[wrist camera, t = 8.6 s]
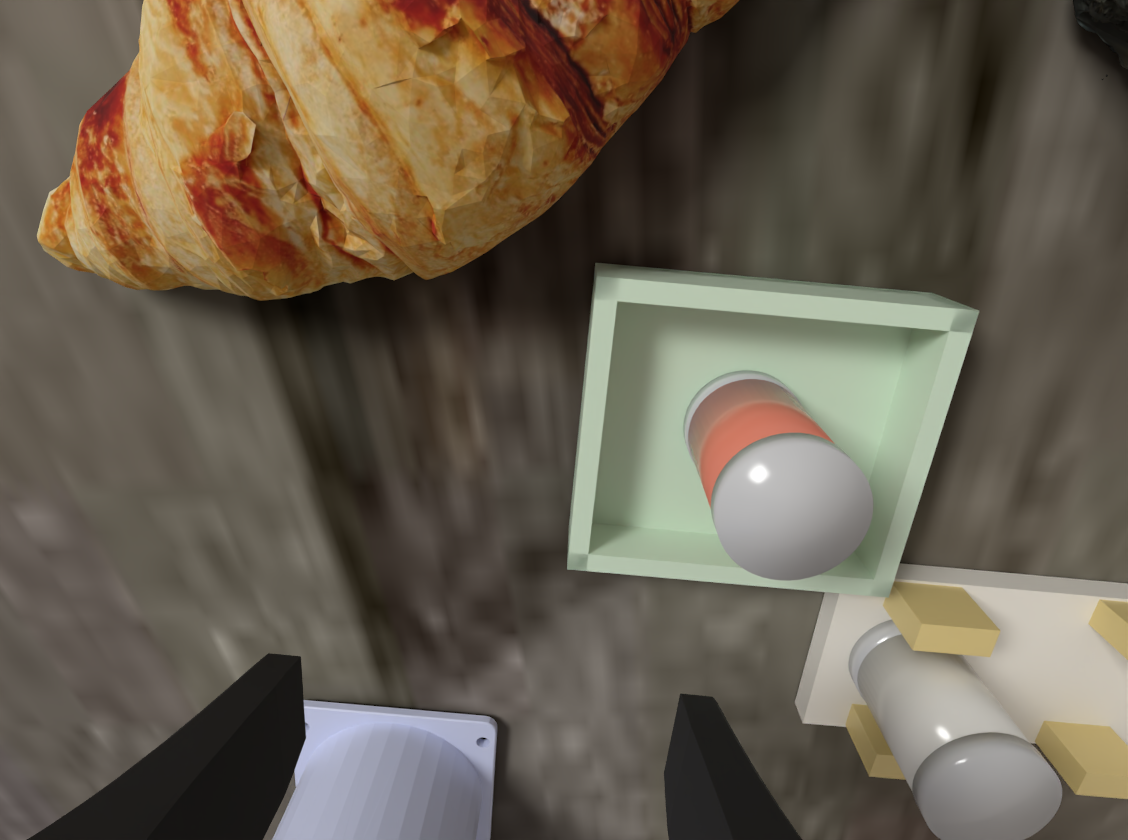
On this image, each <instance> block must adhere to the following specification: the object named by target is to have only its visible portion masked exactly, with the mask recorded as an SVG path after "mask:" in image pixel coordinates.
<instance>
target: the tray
mask: <svg viewBox="0 0 1128 840" xmlns="http://www.w3.org/2000/svg"><path fill="white" fill-rule="evenodd" d="M978 314H979V310H976V309H973V308H971V307H968V306H965V305H963V304H960V303H958V302H955V301H952V300H950V299H947V298H944V297H942V296H939V295H937V294H934V293H927V292H916V291H905V290H894V289H883V288H872V287H861V286H850V285H839V284H828V283H816V282H805V281H794V280H783V279H772V278H761V277H750V276H739V275H728V274H717V273H706V272H695V271H684V270H673V269H662V268H651V267H639V266H628V265H617V264H606V263H595V272H594V282H593V292H592V302H591V311H590V321H589V331H588V341H587V351H586V361H585V371H584V381H583V391H582V401H581V411H580V421H579V431H578V441H577V451H576V461H575V471H574V481H573V491H572V501H571V511H570V521H569V535H568V559H567V569H570V570H582V571H593V572H604V573H615V574H627V575H638V576H649V577H661V578H672V579H683V580H694V581H706V582H717V583H728V584H740V585H751V586H762V587H774V588H785V589H796V590H807V591H819V592H830V593H841V594H853V595H864V596H875V597H887V598H889V595H890V592H891V589H892V585H893V582H894V579H895V576H896V573H897V570H898V566H899V563H900V560H901V557H902V554H903V551H904V548H905V544H906V541H907V538H908V535H909V532H910V529H911V525H912V522H913V519H914V516H915V513H916V510H917V506H918V503H919V500H920V497H921V494H922V491H923V488H924V484H925V481H926V478H927V475H928V472H929V469H930V465H931V462H932V459H933V456H934V453H935V450H936V446H937V443H938V440H939V437H940V434H941V431H942V427H943V424H944V421H945V418H946V415H947V412H948V409H949V405H950V402H951V399H952V396H953V393H954V390H955V386H956V383H957V380H958V377H959V374H960V371H961V367H962V364H963V361H964V358H965V355H966V352H967V349H968V345H969V342H970V339H971V336H972V333H973V330H974V326H975V323H976V320H977V317H978ZM741 370H752V371H759V372H763V373H766V374H769V375H771V376H773V377H775V378H777V379H779V380H780V381H781V382H782V383H784V384H785V385H786V386H787V387H788V388H789V389H790V390H791V392H792V393H793V394H794V395H795V396H796V397H797V399H798V400H799V402H800V403H801V405H802V407H803V408H804V409H805V410H806V411H807V412H808V414H809V415H810V416H811V417H812V418H813V419H814V420H815V422H816V423H817V424H818V425H819V426H820V427H821V428H822V430H823V431H824V432H825V433H826V434H827V435H828V436H829V438H830V439H831V440H832V441H833V442H834V443H835V444H836V445H837V446H838V447H840V448H841V449H842V450H843V451H844V452H845V453H846V454H847V455H848V456H849V457H850V458H851V459H852V460H853V462H854V463H855V464H856V465H857V466H858V467H859V468H860V469H861V471H862V472H863V474H864V475H865V477H866V478H867V481H868V483H869V485H870V488H871V491H872V496H873V515H872V520H871V523H870V526H869V529H868V531H867V533H866V535H865V537H864V539H863V540H862V542H861V543H860V545H859V546H858V547H857V548H856V550H855V551H854V552H853V553H852V554H851V555H850V556H849V557H848V558H847V559H845V560H844V561H843V562H841V563H840V564H839V565H837V566H836V567H834V568H832V569H830V570H829V571H826V572H824V573H822V574H819V575H816V576H813V577H810V578H805V579H800V580H791V581H785V580H773V579H768V578H763V577H760V576H757V575H755V574H752V573H750V572H748V571H747V570H745V569H743V568H742V567H740V566H739V565H738V564H736V563H735V562H734V561H733V560H732V559H731V558H730V556H729V555H728V554H727V553H726V551H725V550H724V548H723V546H722V544H721V542H720V539H719V537H718V534H717V531H716V528H715V525H714V523H713V519H712V514H711V508H710V505H709V503H708V500H707V497H706V494H705V491H704V489H703V486H702V483H701V480H700V477H699V475H698V472H697V469H696V466H695V464H694V462H693V461H692V459H691V457H690V454H689V452H688V449H687V446H686V443H685V439H684V433H683V424H684V418H685V414H686V411H687V408H688V406H689V404H690V402H691V400H692V399H693V397H694V396H695V395H696V394H697V392H698V391H699V390H700V389H701V388H702V387H703V386H705V385H706V384H707V383H709V382H710V381H711V380H713V379H715V378H717V377H719V376H721V375H724V374H726V373H730V372H734V371H741Z"/></svg>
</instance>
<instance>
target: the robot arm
mask: <svg viewBox="0 0 1128 840" xmlns="http://www.w3.org/2000/svg"><path fill="white" fill-rule="evenodd" d="M305 722H306V723H307V724H306V723H305ZM482 737H484V738H487V739H481V738H482ZM496 743H497V723H496V721H495V720H494V719H493V718H491V717H488V716H482V715H470V714H459V713H448V712H436V711H425V710H413V709H402V708H391V707H379V706H368V705H356V704H345V703H333V702H322V701H311V700H304V699H303V684H302V669H301V657H300V656H290V655H279V654H267V655H266V656H265V657H263V658H262V659H261V660H260V661H259V662H257V663H256V664H255V665H254V666H253V667H252V668H250V669H249V670H248V671H247V672H246V673H245V674H244V675H242V676H241V677H240V678H239V679H238V680H237V681H236V682H234V683H233V684H232V685H231V686H230V687H229V688H228V689H226V690H225V691H224V692H223V693H222V694H221V695H220V696H218V697H217V698H216V699H215V700H214V701H213V702H211V703H210V704H209V705H208V706H207V707H206V708H204V709H203V710H202V711H201V712H200V713H198V714H197V715H196V716H195V717H194V718H192V719H191V720H190V721H189V722H188V723H186V724H185V725H184V726H183V727H182V728H180V729H179V730H178V731H177V732H176V733H174V734H173V735H172V736H171V737H170V738H168V739H167V740H166V741H165V742H163V743H162V744H161V745H160V746H158V747H157V748H156V749H155V750H153V751H152V752H151V753H149V754H148V755H147V756H145V757H144V758H143V759H142V760H140V761H139V762H138V763H136V764H135V765H134V766H132V767H131V768H130V769H129V770H127V771H126V772H125V773H123V774H122V775H121V776H119V777H118V778H117V779H115V780H114V781H113V782H111V783H110V784H109V785H107V786H106V787H104V788H103V789H102V790H100V791H99V792H98V793H96V794H95V795H93V796H92V797H91V798H89V799H88V800H86V801H85V802H83V803H82V804H81V805H79V806H78V807H76V808H75V809H73V810H72V811H70V812H69V813H67V814H66V815H64V816H63V817H61V818H60V819H58V820H57V821H55V822H54V823H52V824H51V825H49V826H48V827H46V828H45V829H43V830H42V831H40V832H39V833H37V834H35V835H34V836H32V837H30V838H29V839H27V840H263V838H264V836H265V834H266V832H267V830H268V828H269V826H270V824H271V822H272V820H273V818H274V816H275V814H276V812H277V810H278V808H279V806H280V804H281V802H282V800H283V798H284V795H285V793H286V791H287V788H288V785H289V783H290V780H291V778H292V775H293V773H294V771H295V782H296V789H295V791H294V794H293V796H292V798H291V800H290V802H289V804H288V807H287V809H286V811H285V813H284V815H283V818H282V820H281V822H280V824H279V826H278V828H277V831H276V833H275V835H274V837H273V839H272V840H490V838H491V822H492V806H493V790H494V775H495V759H496ZM664 781H665V798H666V813H667V827H668V836H669V840H802V839H801V837H800V836H799V835H798V833H797V832H796V830H795V829H794V828H793V826H792V825H791V823H790V822H789V820H788V819H787V817H786V816H785V814H784V813H783V812H782V810H781V809H780V807H779V806H778V804H777V802H776V801H775V799H774V798H773V796H772V795H771V793H770V792H769V790H768V788H767V787H766V785H765V784H764V782H763V781H762V779H761V778H760V776H759V774H758V773H757V771H756V770H755V768H754V766H753V765H752V763H751V761H750V760H749V758H748V756H747V755H746V753H745V751H744V750H743V748H742V746H741V744H740V743H739V741H738V739H737V738H736V736H735V734H734V732H733V731H732V729H731V727H730V725H729V723H728V722H727V720H726V718H725V716H724V714H723V712H722V711H721V709H720V707H719V705H718V703H717V702H716V700H715V699H714V698H713V697H709V696H699V695H689V694H680V698H679V703H678V708H677V713H676V717H675V722H674V727H673V732H672V737H671V742H670V746H669V751H668V756H667V761H666V766H665V771H664Z"/></svg>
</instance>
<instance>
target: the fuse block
mask: <svg viewBox="0 0 1128 840" xmlns="http://www.w3.org/2000/svg"><path fill="white" fill-rule="evenodd" d="M891 619H892V620H893V622H894V623H895V625H896V626H897V628H898V629H899V631H900V632H901V634H902V635H903V637H904V638H905V640H906V641H907V643H908V644H909V646H910V647H911V649H912V650H914V651H925V652H937V653H948V654H960V655H963V656H964V658H965V659H966V660H967V661H968V663H969V664H970V665H971V667H972V668H973V669H974V671H975V672H976V673H977V675H978V676H979V677H980V678H981V680H982V681H983V682H984V684H985V685H986V686H987V688H988V689H989V690H990V691H991V693H992V694H993V695H994V697H995V698H996V699H997V701H998V702H999V703H1000V705H1001V706H1002V707H1003V708H1004V710H1005V711H1006V712H1007V714H1008V715H1009V716H1010V718H1011V719H1012V720H1013V722H1014V723H1015V724H1016V725H1017V727H1018V728H1019V729H1020V731H1021V732H1022V733H1023V735H1024V736H1025V737H1026V739H1027V740H1028V741H1029V742H1030V743H1034V744H1037V745H1038V746H1039V748H1040V749H1041V750H1042V752H1043V753H1044V754H1045V756H1046V757H1047V758H1048V759H1049V761H1050V762H1051V763H1052V765H1053V766H1054V767H1055V768H1056V770H1057V771H1058V772H1059V774H1060V775H1061V776H1062V777H1063V779H1064V780H1065V781H1066V783H1067V784H1068V785H1069V786H1070V788H1071V789H1072V790H1073V792H1074V793H1075V794H1076V795H1087V796H1098V797H1109V798H1121V799H1128V584H1127V583H1116V582H1105V581H1093V580H1082V579H1071V578H1060V577H1048V576H1037V575H1026V574H1015V573H1003V572H992V571H981V570H969V569H958V568H947V567H936V566H924V565H913V564H902V563H899V566H898V570H897V573H896V576H895V579H894V582H893V585H892V589H891V592H890V595H889V598H887V597H875V596H864V595H853V594H841V593H830V592H825V594H824V597H823V601H822V605H821V608H820V612H819V616H818V619H817V623H816V627H815V630H814V634H813V638H812V641H811V645H810V649H809V652H808V656H807V659H806V663H805V667H804V670H803V674H802V678H801V681H800V685H799V689H798V692H797V696H796V700H795V705H796V707H797V710H798V712H799V715H800V717H801V720H802V723H806V724H818V725H829V726H841V727H847V730H848V732H849V734H850V736H851V738H852V740H853V743H854V745H855V747H856V749H857V751H858V753H859V755H860V758H861V760H862V762H863V764H864V766H865V768H866V771H867V773H868V775H869V777H881V778H892V779H903V780H906V779H905V777H904V775H903V773H902V771H901V769H900V767H899V765H898V763H897V761H896V760H895V758H894V756H893V754H892V752H891V750H890V748H889V746H888V744H887V742H886V740H885V738H884V736H883V735H882V733H881V731H880V729H879V727H878V725H877V723H876V721H875V719H874V717H873V715H872V713H871V711H870V710H869V708H868V706H867V704H866V702H865V700H864V699H863V698H862V697H861V695H860V693H859V692H858V690H857V688H856V686H855V684H854V682H853V680H852V678H851V676H850V673H849V667H848V662H849V656H850V653H851V650H852V648H853V647H854V645H855V643H856V642H857V641H858V639H859V638H860V637H861V636H862V635H863V634H864V633H866V632H867V631H868V630H870V629H871V628H873V627H874V626H876V625H878V624H880V623H883V622H885V621H888V620H891Z"/></svg>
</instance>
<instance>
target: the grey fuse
mask: <svg viewBox="0 0 1128 840" xmlns="http://www.w3.org/2000/svg"><path fill="white" fill-rule="evenodd" d="M848 667H849V673H850V676H851V678H852V680H853V682H854V684H855V686H856V688H857V690H858V692H859V693H860V695H861V697H862V698H863V699H864V700H865V702H866V704H867V706H868V708H869V710H870V711H871V713H872V715H873V717H874V719H875V721H876V723H877V725H878V727H879V729H880V731H881V733H882V735H883V736H884V738H885V740H886V742H887V744H888V746H889V748H890V750H891V752H892V754H893V756H894V758H895V760H896V761H897V763H898V765H899V767H900V769H901V771H902V773H903V775H904V777H905V779H906V781H907V783H908V785H909V786H910V788H911V790H912V792H913V797H914V800H915V802H916V804H917V806H918V808H919V810H920V812H921V813H922V815H923V817H924V819H925V821H926V823H927V825H928V827H929V828H930V830H931V831H932V832H933V833H934V834H935V835H936V836H937V837H938V838H940V839H941V840H1024V839H1026V838H1028V837H1030V836H1032V835H1034V834H1035V833H1037V832H1038V831H1039V830H1041V829H1042V828H1043V827H1044V826H1045V825H1046V824H1048V823H1049V822H1050V820H1051V819H1052V818H1053V817H1054V815H1055V814H1056V812H1057V810H1058V808H1059V806H1060V803H1061V799H1062V786H1061V783H1060V780H1059V778H1058V776H1057V775H1056V773H1055V772H1054V771H1053V769H1052V768H1051V767H1050V765H1049V764H1048V763H1047V761H1046V760H1045V759H1044V758H1043V756H1042V755H1041V754H1040V752H1039V751H1038V750H1037V749H1036V748H1035V747H1034V746H1033V745H1032V744H1030V742H1029V741H1028V740H1027V739H1026V737H1025V736H1024V735H1023V733H1022V732H1021V731H1020V729H1019V728H1018V727H1017V725H1016V724H1015V723H1014V722H1013V720H1012V719H1011V718H1010V716H1009V715H1008V714H1007V712H1006V711H1005V710H1004V708H1003V707H1002V706H1001V705H1000V703H999V702H998V701H997V699H996V698H995V697H994V695H993V694H992V693H991V691H990V690H989V689H988V688H987V686H986V685H985V684H984V682H983V681H982V680H981V678H980V677H979V676H978V675H977V673H976V672H975V671H974V669H973V668H972V667H971V665H970V664H969V663H968V661H967V660H966V659H965V658H964V656H963V655H960V654H948V653H937V652H925V651H914V650H912V649H911V647H910V646H909V644H908V643H907V641H906V640H905V638H904V637H903V635H902V634H901V632H900V631H899V629H898V628H897V626H896V625H895V623H894V622H893V620H892V619H891V620H888V621H885V622H883V623H880V624H878V625H876V626H874V627H873V628H871V629H870V630H868V631H867V632H866V633H864V634H863V635H862V636H861V637H860V638H859V639H858V641H857V642H856V643H855V645H854V647H853V648H852V650H851V653H850V656H849V662H848Z"/></svg>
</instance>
